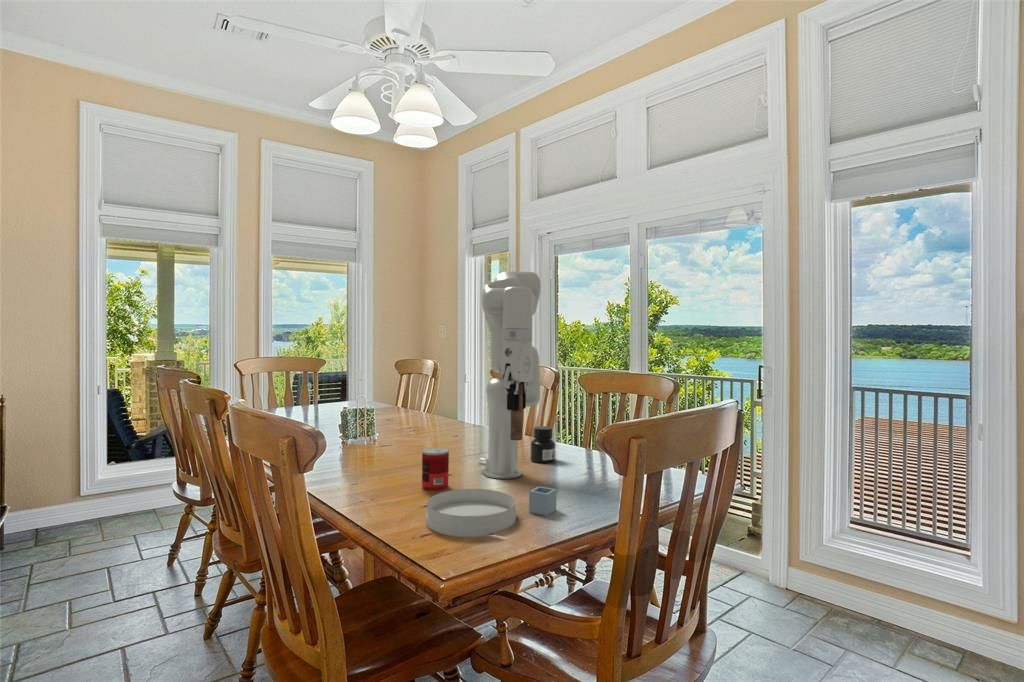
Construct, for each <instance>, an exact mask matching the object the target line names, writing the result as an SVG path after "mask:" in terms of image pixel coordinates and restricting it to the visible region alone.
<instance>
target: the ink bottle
mask: <svg viewBox="0 0 1024 682" xmlns="http://www.w3.org/2000/svg"><path fill="white" fill-rule="evenodd" d="M533 438H534V439H533V440H532V441H530V455H529V456H530V457H529V458H530V461H531V462H533V461H534V463H537V462H540V463H539V464H550V463H554V462H555V460H556V442H555V441H553V439H552V438H553V427H551V426H545V425H540V426H534V427H533ZM549 462H550V463H549Z"/></svg>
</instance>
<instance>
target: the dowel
mask: <svg viewBox="0 0 1024 682" xmlns="http://www.w3.org/2000/svg"><path fill="white" fill-rule="evenodd" d="M514 385H515V384H513V386H514ZM518 394H519V410H518V411H515V410H511V430H510V439H511V440H518V441H522V440H523V420H524V419H523V417H524V416H523V415H524V413H523V411H524V409H523V384H522V383H519V384H518Z"/></svg>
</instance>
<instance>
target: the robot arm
mask: <svg viewBox="0 0 1024 682" xmlns="http://www.w3.org/2000/svg"><path fill="white" fill-rule="evenodd" d="M541 287H542V284H541V279H540V277H539V275H538V274H537V273H535V272H532V271H514V270H513V271H511V270H507V271H502V272H499V273H498V275H496V276H495V278H494V280H493V281H491V282H488V283H487V284H485V286H484V287H483V289H482V293H481V305H482V306H481V307H482V310H483V312H484V316H485V320H486V323H487V325H488V328H489V332H490V333H489V335H490V366H491V370H492V371H493V372H494V373H496V374H497V373H498V374H501V376H500V377H495V378H492V379H490V380H489V381H488V382H487V383H486V390H485V392H486V401H487V408H488V409H487V410H488V441H487V442H488V444H487V445H488V448H487V449H488V453H487V455H488V456H487V458H483V457H480V458H479V461H478V466H483V467H485V468H484V469H483V471H482V472H483V475H484V476H485V477H488V478H491V479H500V480H502V479H503V480H507V479H515V478H518V477H521V476H522V474H523V473H522V472H523V471H522V469H521V468H519V467H518V444H519V443H518V441H519V440H511V439H510V430H511V410H515V411H518V410H519V394H518V384H519V383H522V384H523V410H525V409H526V408H528V407H529V408H530V407H535V406H537V405H538V404H539V403H540V399H541V383H540V382H541V381H540V380H541V378H540V376H541V375H540V374H541V373H540V372H541V371H540V357H539V352H538V349H537V348H536V347H535V346H533V315H535V314H536V311H537V308H538V303H539V300H540V296H541V290H542V289H541ZM513 384H515V385H514V386H513Z"/></svg>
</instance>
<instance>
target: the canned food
mask: <svg viewBox="0 0 1024 682" xmlns="http://www.w3.org/2000/svg"><path fill="white" fill-rule="evenodd" d="M449 454H450V451H449V449H448V448H445V447H428V448H427V447H426V448H425V449H423V450H422V453H421V455H422V457H421V467H422V468H421V472H422V473H421V487H422V488H423V489H424V490H428V491H440V490H444V489H446V488H447V487H448V486H449V466H450V465H449V463H450V459H449V458H450V455H449Z"/></svg>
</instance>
